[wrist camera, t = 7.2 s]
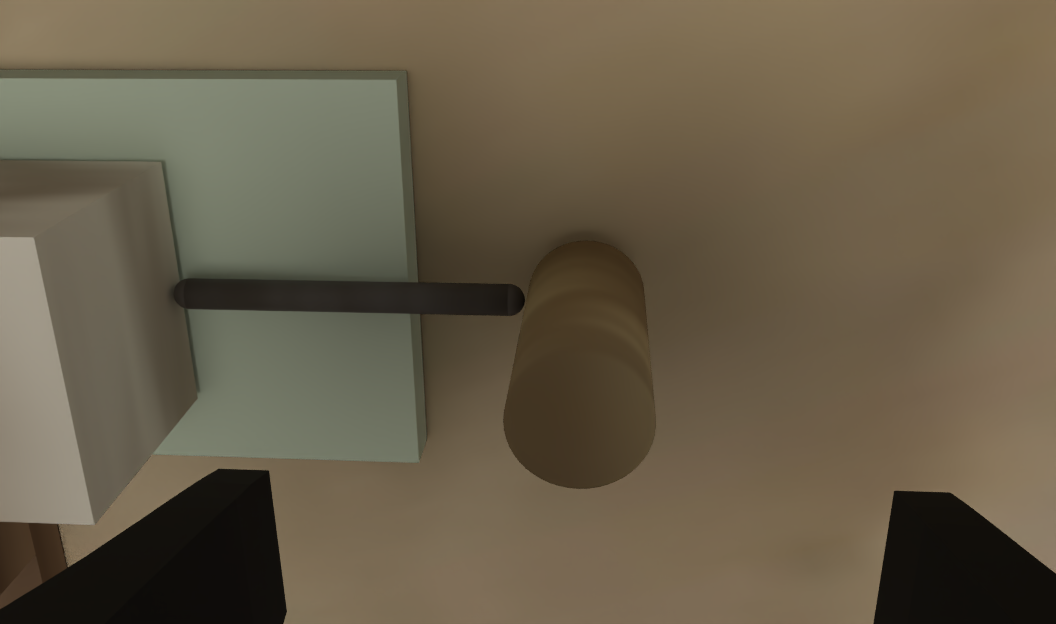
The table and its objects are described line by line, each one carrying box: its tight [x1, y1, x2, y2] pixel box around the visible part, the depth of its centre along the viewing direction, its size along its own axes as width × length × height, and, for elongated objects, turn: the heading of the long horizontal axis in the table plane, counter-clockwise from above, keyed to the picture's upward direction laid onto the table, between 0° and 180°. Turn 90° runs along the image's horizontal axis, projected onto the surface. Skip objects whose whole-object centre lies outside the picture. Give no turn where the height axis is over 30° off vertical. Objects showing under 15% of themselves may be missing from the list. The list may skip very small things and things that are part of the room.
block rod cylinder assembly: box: [0, 160, 656, 525], centre depth 17 cm, size 15×5×5 cm, turn 91°
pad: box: [0, 70, 427, 463], centre depth 20 cm, size 9×8×1 cm
